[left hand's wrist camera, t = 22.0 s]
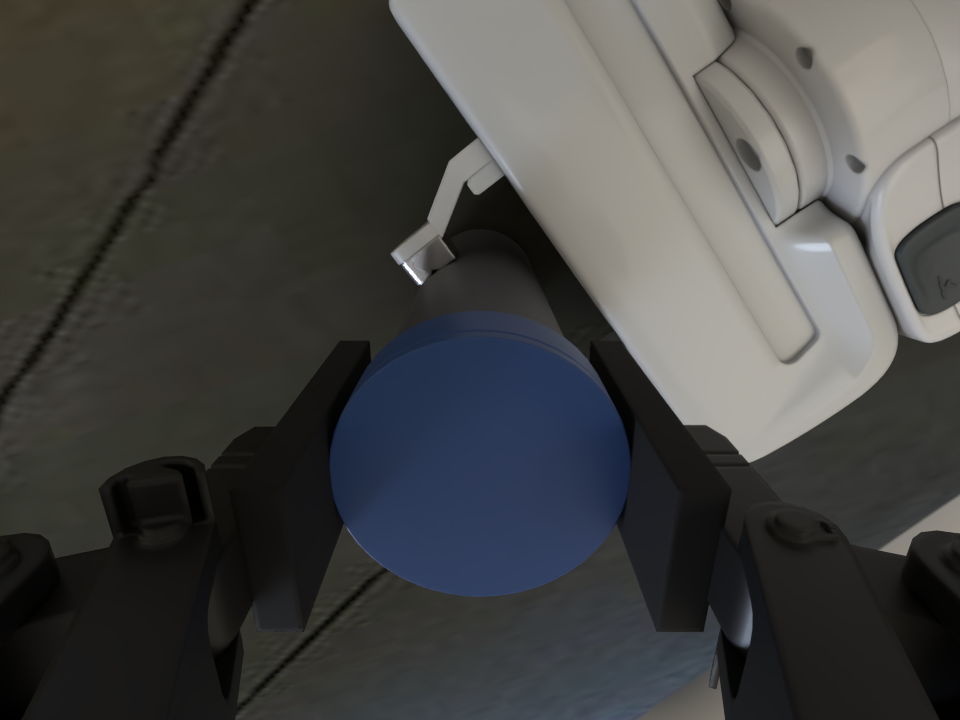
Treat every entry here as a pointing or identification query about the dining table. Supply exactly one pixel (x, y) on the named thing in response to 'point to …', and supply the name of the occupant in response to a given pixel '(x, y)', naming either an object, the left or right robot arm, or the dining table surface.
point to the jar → (482, 282)
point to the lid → (480, 456)
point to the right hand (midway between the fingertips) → (461, 337)
